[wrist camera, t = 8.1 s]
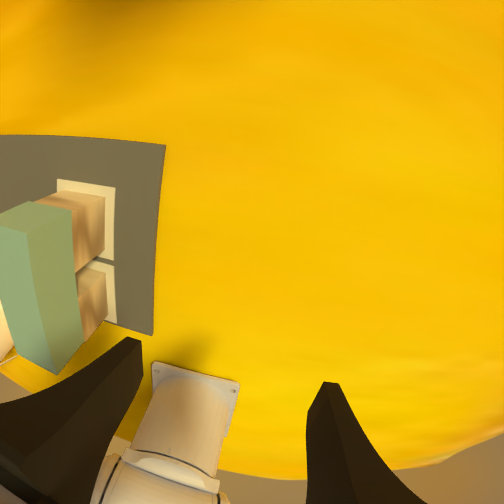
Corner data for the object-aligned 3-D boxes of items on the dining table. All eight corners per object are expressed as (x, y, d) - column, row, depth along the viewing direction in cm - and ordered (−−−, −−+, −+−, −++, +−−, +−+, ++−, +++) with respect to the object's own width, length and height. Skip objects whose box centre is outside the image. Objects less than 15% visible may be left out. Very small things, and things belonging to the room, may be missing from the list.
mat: (153, 333, 24) (151, 336, 23) (8, 279, 24) (5, 281, 24) (166, 145, 18) (163, 145, 17) (-3, 135, 18) (-7, 135, 18)
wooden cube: (108, 314, 23) (85, 342, 20) (71, 301, 23) (46, 326, 20) (105, 272, 22) (77, 299, 18) (66, 261, 22) (37, 283, 18)
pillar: (104, 249, 21) (75, 273, 17) (64, 238, 21) (33, 259, 17) (105, 197, 19) (71, 213, 16) (63, 189, 19) (28, 204, 16)
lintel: (84, 340, 19) (57, 375, 16) (45, 324, 20) (17, 353, 16) (71, 210, 15) (26, 233, 12) (28, 201, 16) (-15, 220, 12)
